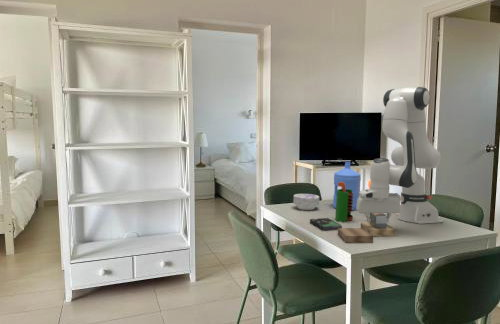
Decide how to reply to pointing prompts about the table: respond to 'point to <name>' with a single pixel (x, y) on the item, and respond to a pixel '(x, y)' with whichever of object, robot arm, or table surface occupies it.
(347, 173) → the water jug
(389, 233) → the stand
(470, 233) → the table surface
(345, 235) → the stand
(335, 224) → the disk drive
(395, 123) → the robot arm
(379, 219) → the block
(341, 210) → the motor
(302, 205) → the paper bowls
